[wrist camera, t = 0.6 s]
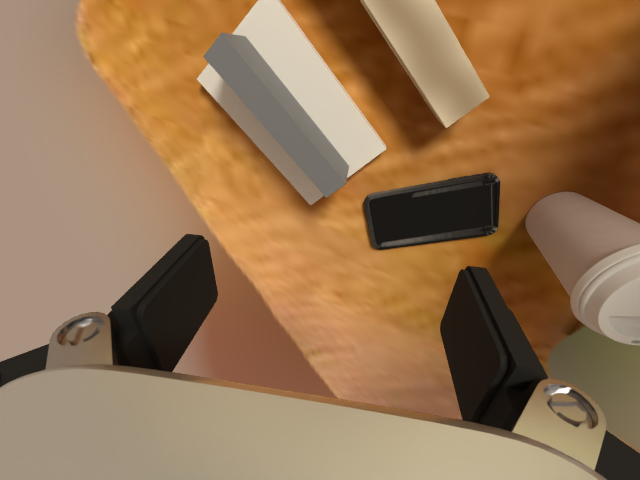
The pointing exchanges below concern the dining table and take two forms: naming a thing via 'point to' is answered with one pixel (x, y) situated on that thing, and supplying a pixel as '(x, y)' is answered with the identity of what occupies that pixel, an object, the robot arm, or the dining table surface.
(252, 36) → the ridge stand
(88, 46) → the dining table surface
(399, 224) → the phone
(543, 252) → the coffee cup
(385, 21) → the beam
